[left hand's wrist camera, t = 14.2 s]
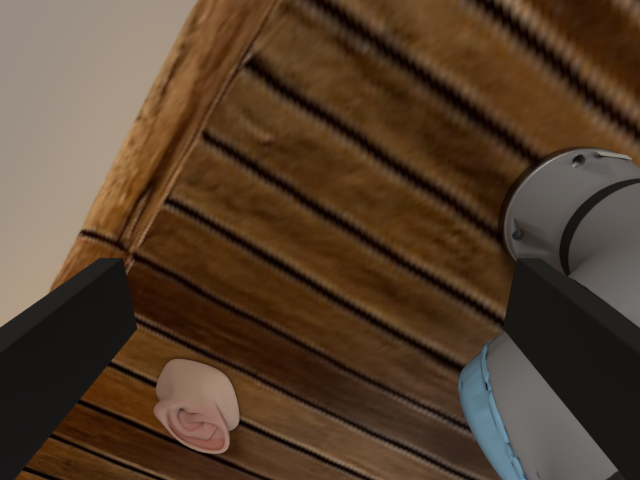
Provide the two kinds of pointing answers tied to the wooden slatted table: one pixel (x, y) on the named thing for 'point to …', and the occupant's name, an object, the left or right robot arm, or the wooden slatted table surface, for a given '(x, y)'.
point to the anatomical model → (197, 405)
